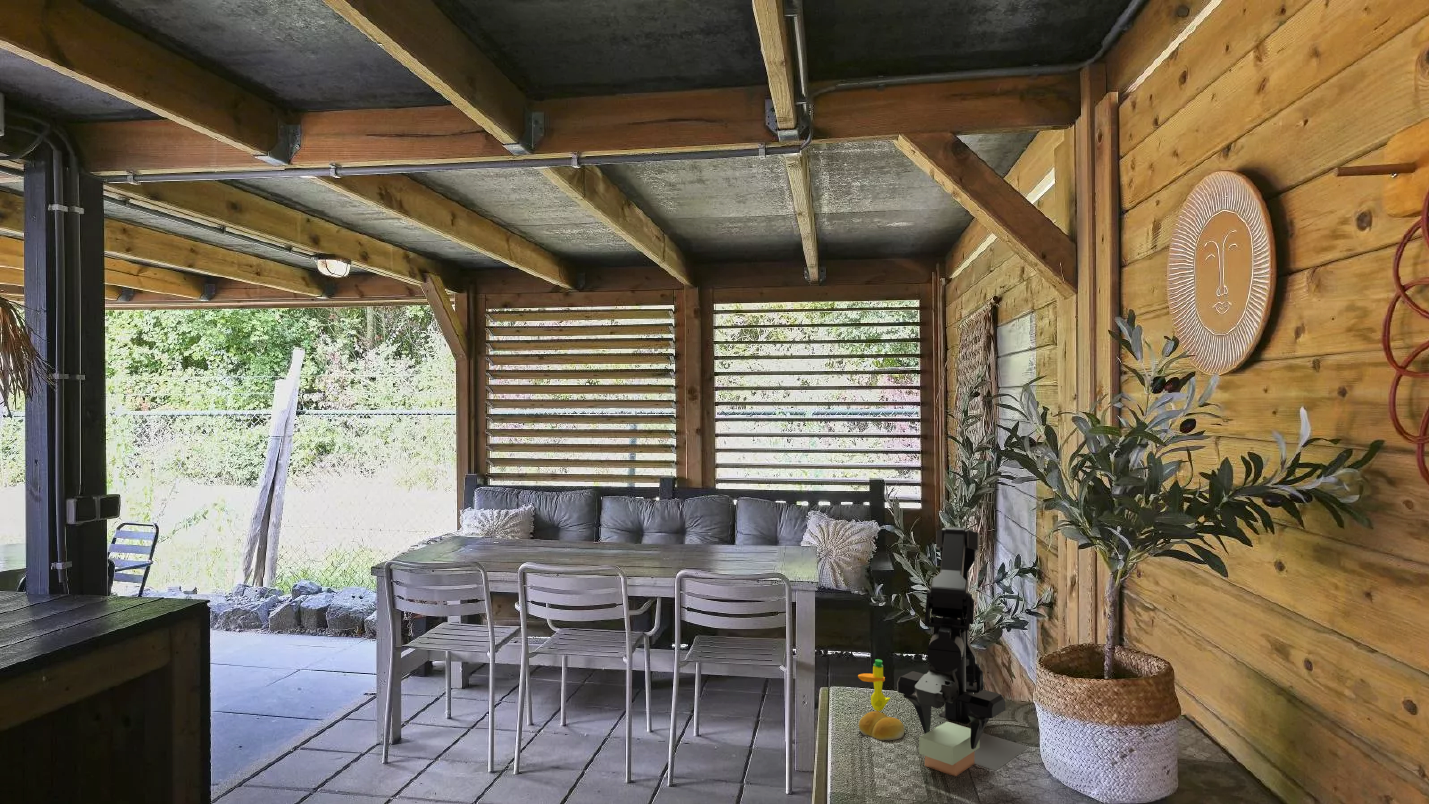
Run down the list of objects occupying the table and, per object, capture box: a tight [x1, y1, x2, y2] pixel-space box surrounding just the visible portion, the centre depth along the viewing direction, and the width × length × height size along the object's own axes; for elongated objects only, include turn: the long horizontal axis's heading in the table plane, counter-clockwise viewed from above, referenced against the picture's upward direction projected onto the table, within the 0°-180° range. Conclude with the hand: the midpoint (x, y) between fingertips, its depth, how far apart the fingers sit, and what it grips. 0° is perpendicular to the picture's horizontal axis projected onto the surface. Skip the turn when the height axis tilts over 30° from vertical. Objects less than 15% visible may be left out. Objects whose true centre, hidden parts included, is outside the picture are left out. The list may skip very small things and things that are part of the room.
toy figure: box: [857, 658, 891, 712], centre depth 167 cm, size 7×4×12 cm, turn 76°
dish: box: [924, 752, 975, 777], centre depth 143 cm, size 7×6×3 cm
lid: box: [918, 721, 980, 765], centre depth 143 cm, size 10×6×3 cm, turn 135°
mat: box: [974, 732, 1030, 772], centre depth 149 cm, size 14×10×1 cm
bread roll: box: [857, 710, 905, 741], centre depth 159 cm, size 8×9×4 cm
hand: (949, 740), depth 143 cm, fingers open, 9 cm apart
